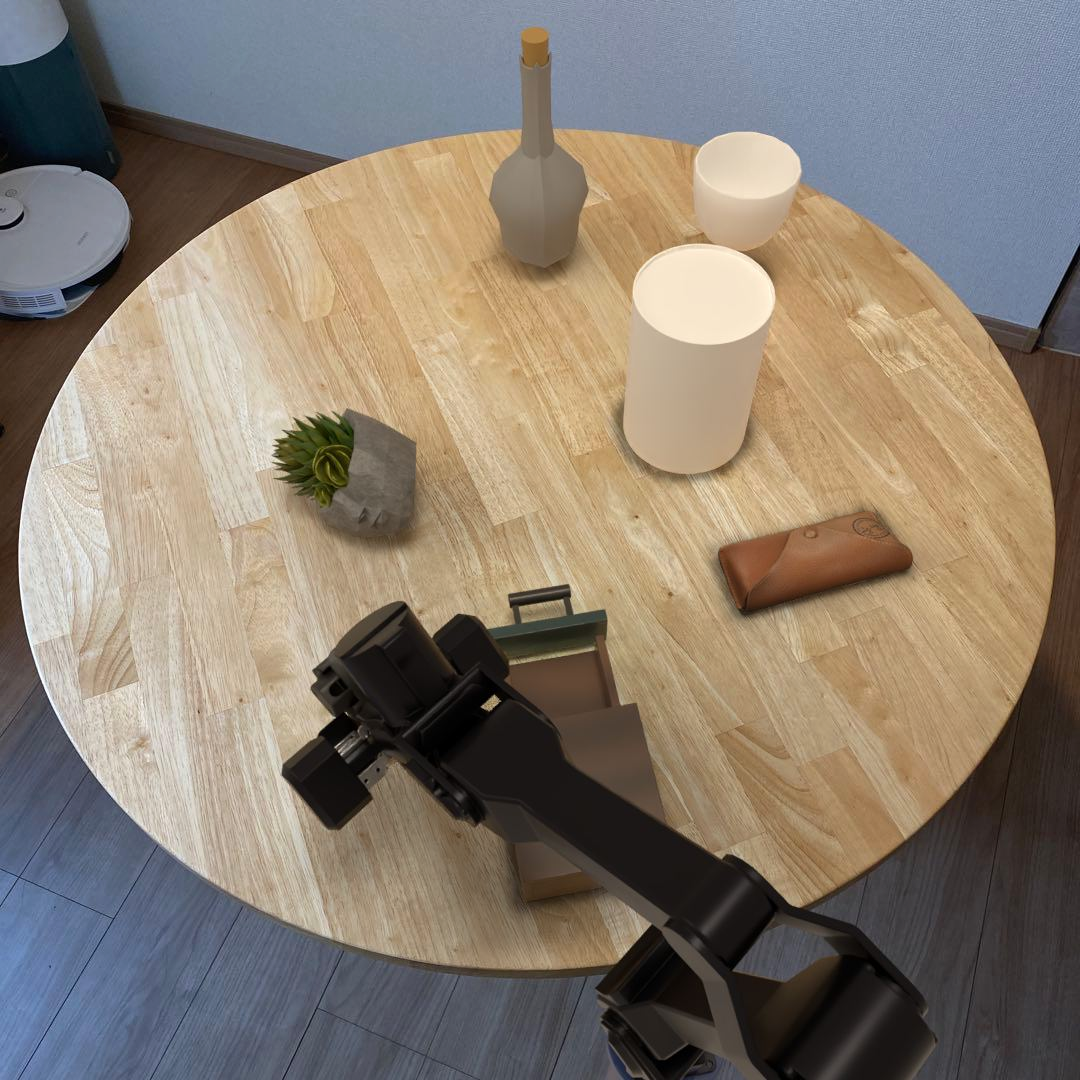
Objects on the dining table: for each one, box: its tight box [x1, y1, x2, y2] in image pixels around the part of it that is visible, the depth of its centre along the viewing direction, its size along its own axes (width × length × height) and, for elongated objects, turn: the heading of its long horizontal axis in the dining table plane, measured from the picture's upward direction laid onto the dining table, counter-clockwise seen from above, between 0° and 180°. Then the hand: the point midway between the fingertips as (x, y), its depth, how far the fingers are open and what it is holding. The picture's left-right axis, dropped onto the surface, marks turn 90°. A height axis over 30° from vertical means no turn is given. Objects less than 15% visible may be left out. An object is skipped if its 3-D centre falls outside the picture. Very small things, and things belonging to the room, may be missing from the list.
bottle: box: [488, 26, 590, 269], centre depth 119 cm, size 11×11×30 cm
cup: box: [692, 131, 803, 252], centre depth 122 cm, size 12×12×17 cm
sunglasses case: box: [717, 510, 914, 615], centre depth 105 cm, size 18×7×7 cm, turn 107°
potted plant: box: [270, 407, 417, 538], centre depth 107 cm, size 12×13×15 cm
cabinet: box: [513, 702, 668, 903], centre depth 91 cm, size 14×13×6 cm
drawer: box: [487, 583, 621, 718], centre depth 97 cm, size 17×11×4 cm
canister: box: [622, 243, 776, 475], centre depth 108 cm, size 14×14×20 cm
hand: (364, 701), depth 87 cm, fingers closed on sprinkles bottle, 4 cm apart
